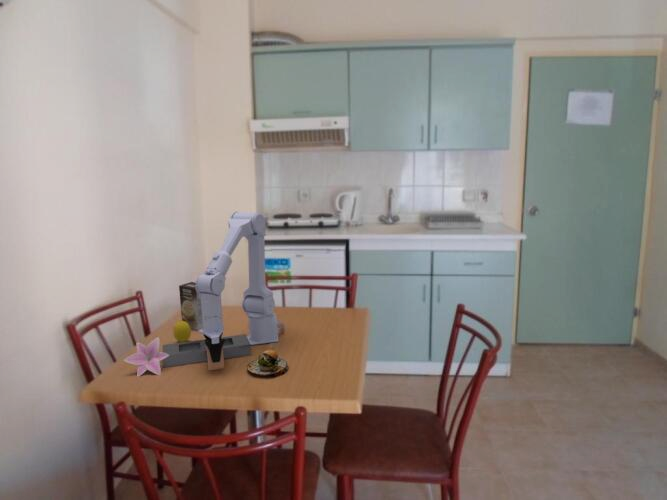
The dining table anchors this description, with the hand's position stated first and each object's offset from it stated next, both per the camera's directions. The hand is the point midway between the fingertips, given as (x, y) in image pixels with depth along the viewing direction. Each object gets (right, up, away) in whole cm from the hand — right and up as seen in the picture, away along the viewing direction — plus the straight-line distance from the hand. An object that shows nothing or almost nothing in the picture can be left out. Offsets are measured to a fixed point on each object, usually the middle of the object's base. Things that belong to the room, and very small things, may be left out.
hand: (215, 358), depth 145 cm
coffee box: (-16, +3, +37) cm, 40 cm away
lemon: (-16, +1, +20) cm, 26 cm away
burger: (+16, -3, -3) cm, 16 cm away
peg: (0, -2, 0) cm, 2 cm away
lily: (-19, -4, -1) cm, 19 cm away
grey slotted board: (-5, -1, +9) cm, 10 cm away
